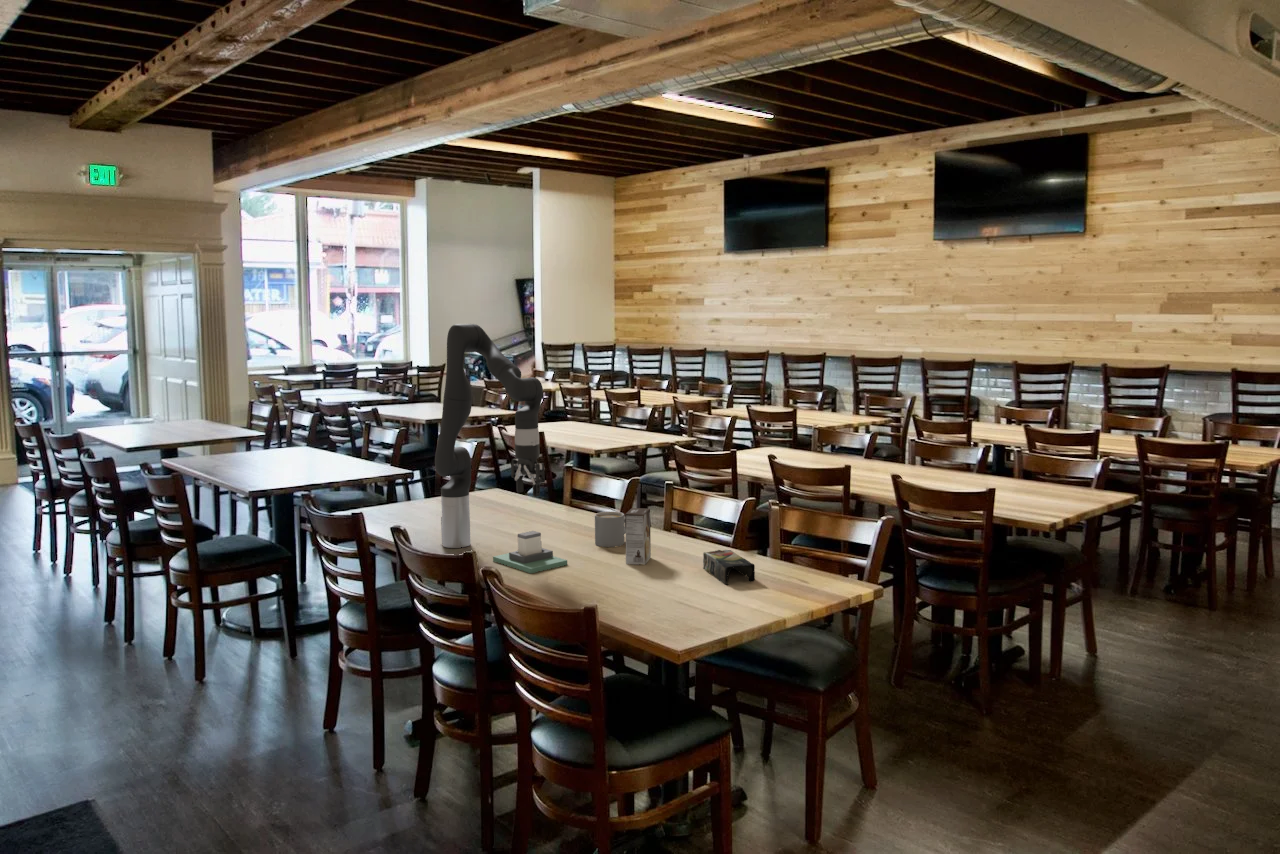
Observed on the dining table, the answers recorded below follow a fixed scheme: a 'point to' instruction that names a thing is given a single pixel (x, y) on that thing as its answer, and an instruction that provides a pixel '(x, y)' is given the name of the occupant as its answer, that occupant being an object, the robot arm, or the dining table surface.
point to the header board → (531, 561)
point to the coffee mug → (609, 529)
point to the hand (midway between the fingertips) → (528, 494)
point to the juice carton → (727, 565)
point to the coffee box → (638, 536)
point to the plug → (529, 543)
